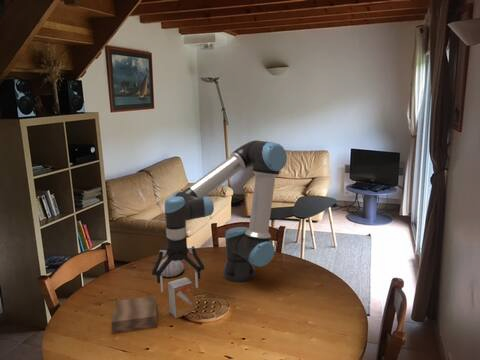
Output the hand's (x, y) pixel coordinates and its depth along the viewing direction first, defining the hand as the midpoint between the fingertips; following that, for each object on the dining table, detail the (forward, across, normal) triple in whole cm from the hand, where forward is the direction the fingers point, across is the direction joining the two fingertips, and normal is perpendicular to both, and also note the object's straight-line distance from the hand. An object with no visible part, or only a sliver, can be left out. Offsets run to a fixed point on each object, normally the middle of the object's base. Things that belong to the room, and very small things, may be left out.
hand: (179, 288), depth 160 cm
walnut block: (+11, +18, 0) cm, 21 cm away
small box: (+11, 0, 0) cm, 11 cm away
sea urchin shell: (+11, +2, -39) cm, 41 cm away
